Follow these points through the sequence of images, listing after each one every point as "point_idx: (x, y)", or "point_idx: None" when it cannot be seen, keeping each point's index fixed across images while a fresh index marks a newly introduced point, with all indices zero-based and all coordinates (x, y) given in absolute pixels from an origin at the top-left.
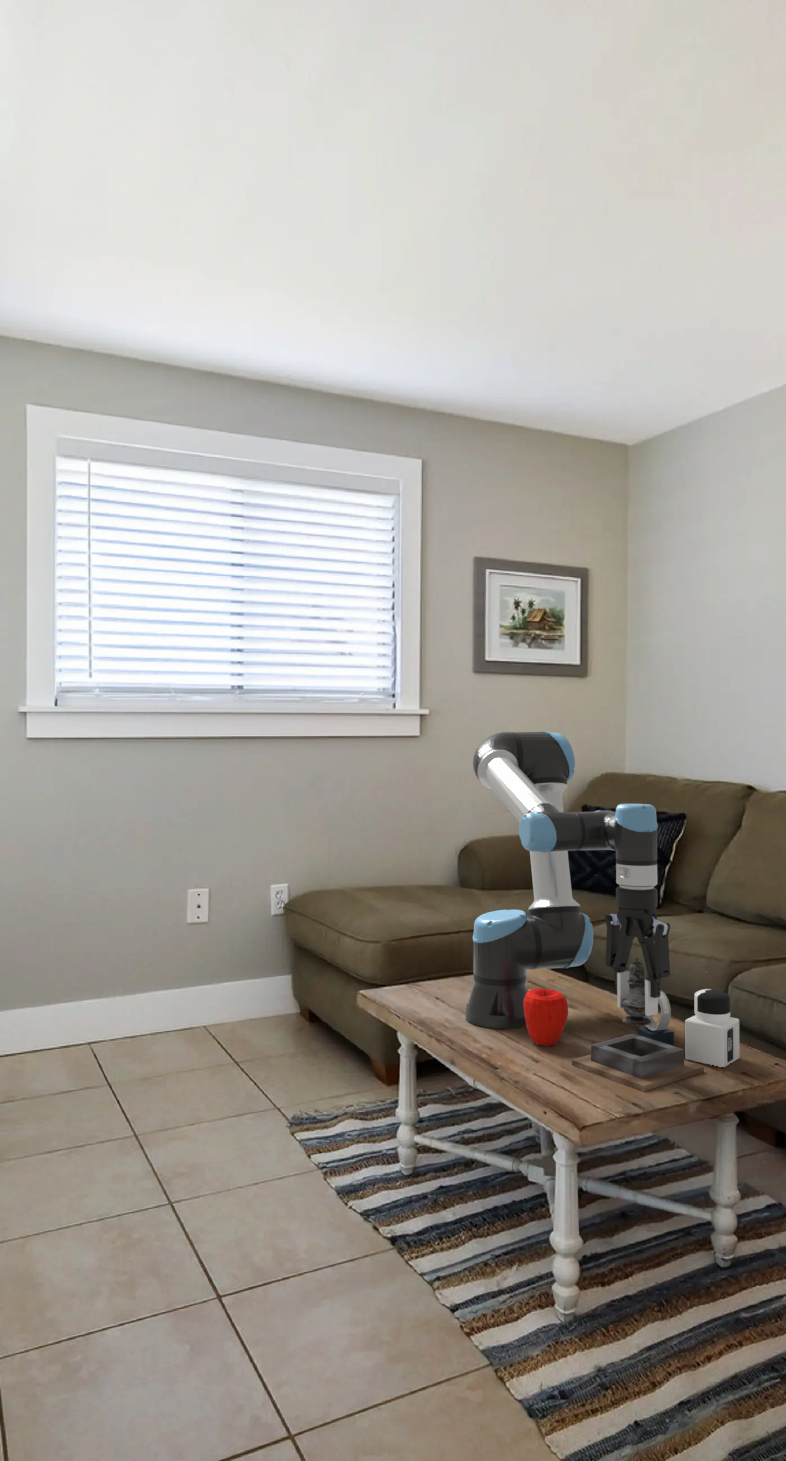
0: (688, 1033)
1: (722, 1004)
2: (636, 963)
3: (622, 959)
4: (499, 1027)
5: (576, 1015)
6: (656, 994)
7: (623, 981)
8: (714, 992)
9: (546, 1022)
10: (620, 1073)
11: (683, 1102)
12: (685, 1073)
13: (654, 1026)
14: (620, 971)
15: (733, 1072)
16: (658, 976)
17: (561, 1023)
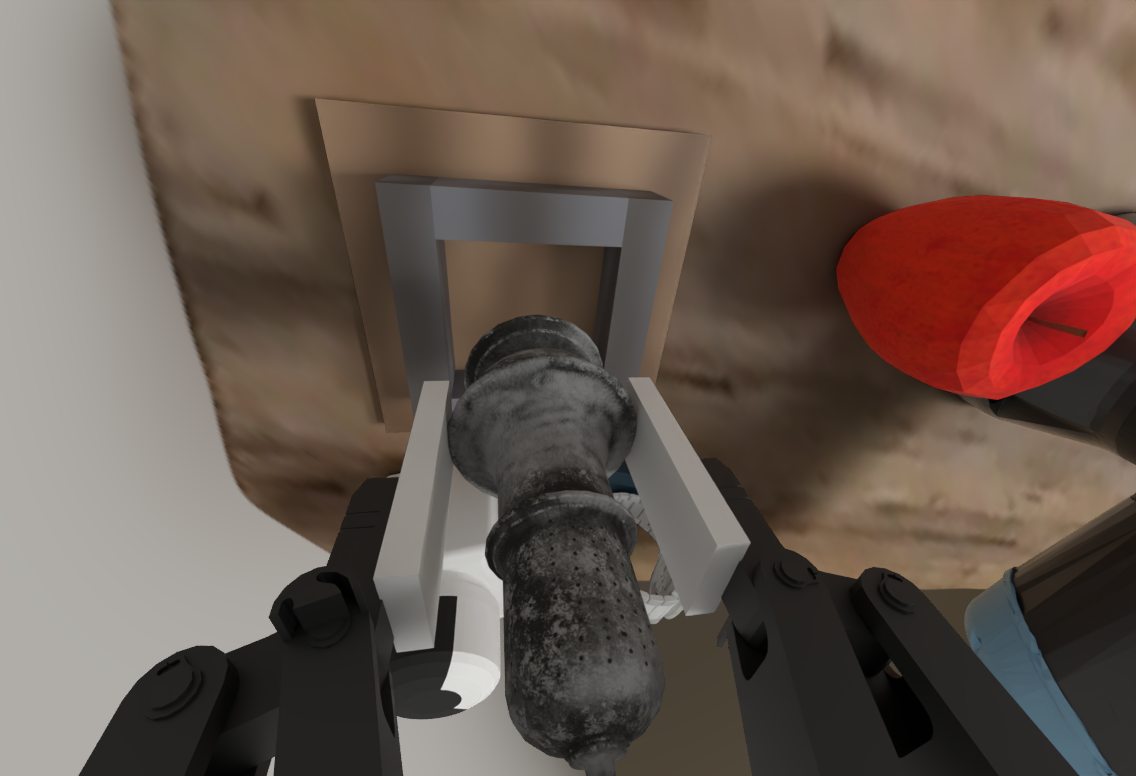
0: (479, 513)
1: None
2: (575, 737)
3: (782, 713)
4: None
5: (860, 480)
6: (351, 507)
7: (677, 513)
8: (419, 703)
9: (931, 227)
10: (485, 157)
11: (145, 130)
12: (370, 354)
13: (631, 512)
14: (739, 576)
15: (351, 474)
16: (173, 675)
17: (870, 292)
